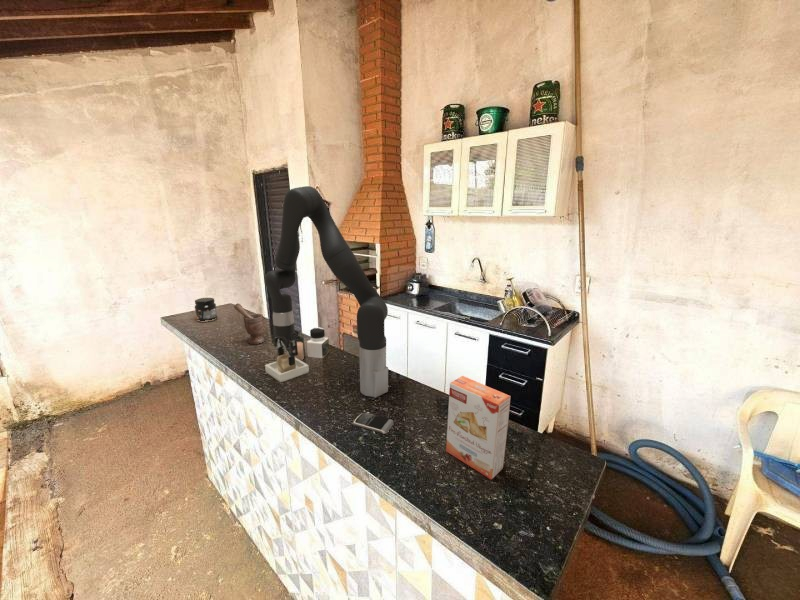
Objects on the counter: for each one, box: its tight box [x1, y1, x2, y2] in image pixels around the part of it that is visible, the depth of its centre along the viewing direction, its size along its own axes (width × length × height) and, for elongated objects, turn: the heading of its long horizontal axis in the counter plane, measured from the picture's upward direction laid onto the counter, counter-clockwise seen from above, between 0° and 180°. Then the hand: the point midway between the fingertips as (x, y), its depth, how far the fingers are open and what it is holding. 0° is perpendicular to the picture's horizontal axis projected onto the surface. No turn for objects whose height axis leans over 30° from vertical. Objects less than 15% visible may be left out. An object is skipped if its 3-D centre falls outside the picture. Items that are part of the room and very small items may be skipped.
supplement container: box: [194, 297, 218, 321], centre depth 195 cm, size 10×10×12 cm
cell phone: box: [353, 412, 394, 434], centre depth 104 cm, size 6×11×1 cm, turn 67°
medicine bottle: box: [306, 327, 330, 359], centre depth 151 cm, size 7×7×12 cm
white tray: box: [264, 358, 310, 383], centre depth 135 cm, size 12×12×3 cm
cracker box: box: [445, 375, 511, 481], centre depth 86 cm, size 14×6×21 cm, turn 45°
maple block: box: [276, 352, 296, 373], centre depth 135 cm, size 5×5×6 cm
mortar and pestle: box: [233, 303, 266, 345], centre depth 161 cm, size 12×9×20 cm
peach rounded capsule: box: [294, 341, 305, 362], centre depth 146 cm, size 5×5×7 cm
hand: (286, 361), depth 134 cm, fingers open, 8 cm apart
